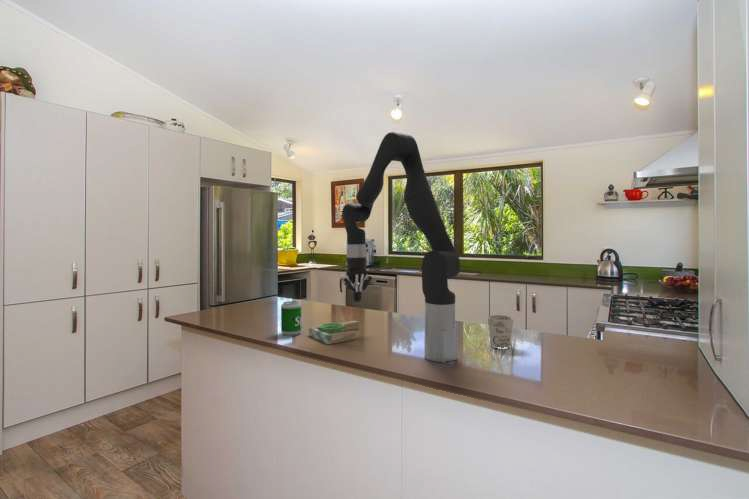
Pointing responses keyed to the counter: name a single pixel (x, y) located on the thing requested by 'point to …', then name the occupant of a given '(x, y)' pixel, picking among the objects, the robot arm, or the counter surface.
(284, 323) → the soda can
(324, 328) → the ramekin
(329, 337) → the rail pocket
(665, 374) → the counter surface
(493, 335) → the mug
